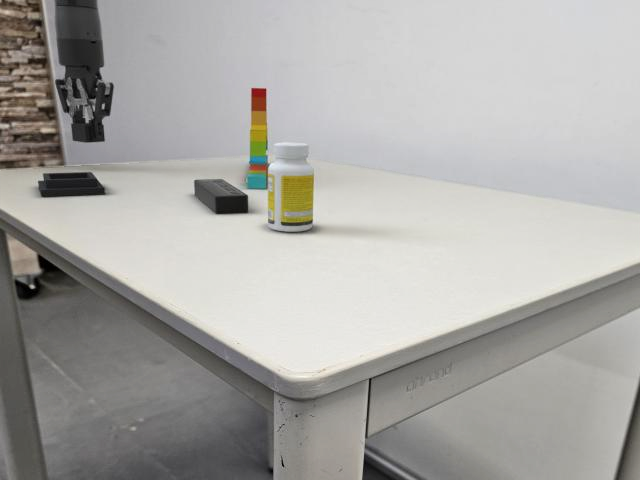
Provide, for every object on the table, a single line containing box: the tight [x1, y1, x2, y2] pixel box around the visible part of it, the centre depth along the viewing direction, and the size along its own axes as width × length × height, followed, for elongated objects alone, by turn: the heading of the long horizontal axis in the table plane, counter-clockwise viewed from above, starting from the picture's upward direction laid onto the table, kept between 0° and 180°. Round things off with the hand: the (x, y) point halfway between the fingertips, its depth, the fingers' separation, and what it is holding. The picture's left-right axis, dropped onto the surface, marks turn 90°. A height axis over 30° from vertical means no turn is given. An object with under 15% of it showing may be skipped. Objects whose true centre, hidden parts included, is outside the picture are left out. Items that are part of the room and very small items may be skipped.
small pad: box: [70, 122, 106, 144], centre depth 115 cm, size 4×4×3 cm
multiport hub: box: [193, 178, 249, 215], centre depth 89 cm, size 4×14×2 cm, turn 22°
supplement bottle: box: [267, 141, 315, 233], centre depth 75 cm, size 5×5×10 cm
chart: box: [245, 87, 269, 190], centre depth 113 cm, size 30×3×15 cm, turn 4°
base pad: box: [37, 171, 106, 198], centre depth 94 cm, size 9×9×2 cm
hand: (88, 139), depth 116 cm, fingers closed on small pad, 4 cm apart
